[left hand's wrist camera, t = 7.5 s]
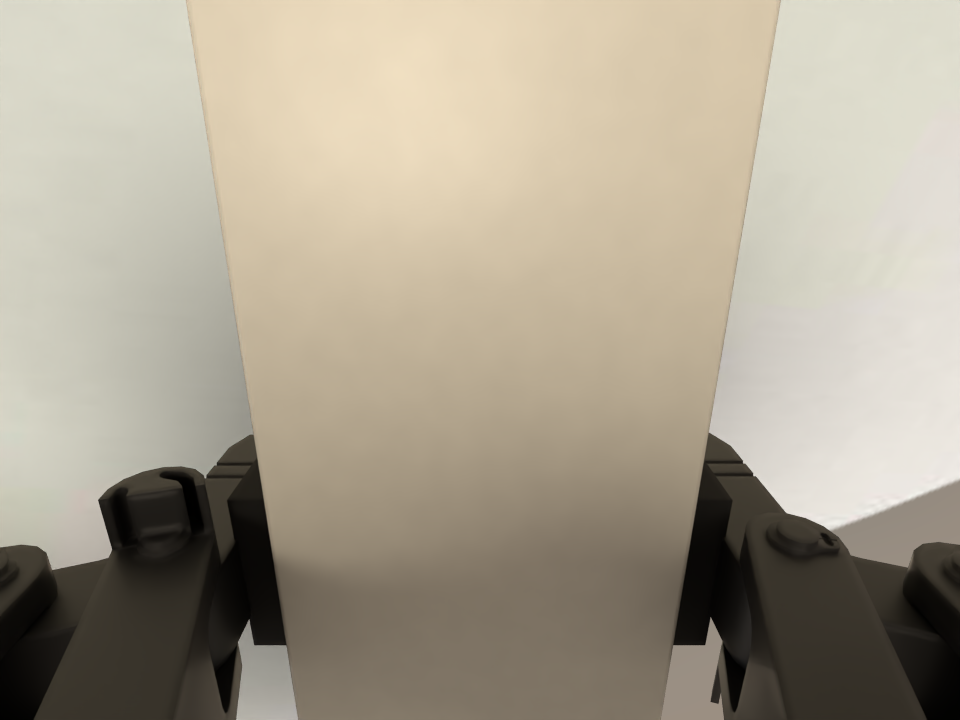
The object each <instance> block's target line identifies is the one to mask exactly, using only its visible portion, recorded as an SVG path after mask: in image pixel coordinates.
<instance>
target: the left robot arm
mask: <svg viewBox="0 0 960 720" xmlns="http://www.w3.org/2000/svg"><path fill="white" fill-rule="evenodd" d="M98 501H99V505H100V508H101V512H102V515H103V519H104V522H105V526H106V529H107V533H108V536H109V540H110V543H111V547H112V552H111V554H110V556H109V558H107V559H103V560H99V561H95V562H90V563H85V564H80V565H76V566H71V567H66V568H61V569H56V570H52V568H51V565H50V562H49V559H48V556H47V554H46V552H44V551H43V550H42V549H40V548H39V547H37V546H28V545H16V546H9V547H1V548H0V720H236V715H237V706H238V697H239V688H240V680H241V671H242V663H241V656H240V651H239V646H238V641H239V639H240V637H241V635H242V632H243V630H244V628H245V626H246V624H247V622H248V620H249V619H250V625H251V630H252V635H253V640H254V645H286V638H285V632H284V625H283V619H282V612H281V606H280V600H279V593H278V587H277V580H276V574H275V568H274V561H273V555H272V548H271V542H270V536H269V529H268V523H267V516H266V510H265V504H264V497H263V491H262V484H261V478H260V472H259V465H258V459H257V452H256V446H255V440H254V435H249V436H247V437H246V438H244V439H242V440H241V441H239V442H238V443H236V444H234V445H233V446H231V447H230V448H229V449H228V450H227V451H226V452H225V453H224V455H223V456H222V457H221V458H220V460H219V461H218V462H217V466H214V467H213V468H212V469H211V471H210V472H209V473H208V474H207V478H204V475H202V474H201V473H200V472H198V471H197V470H196V469H191V468H186V467H163V468H158V469H154V470H149V471H144V472H141V473H139V474H136V475H134V476H131V477H129V478H126V479H124V480H122V481H120V482H119V483H117V484H116V485H114V486H112V487H111V488H109V489H108V490H107V491H106V492H105V493H104V494H103V495H102V496H101V497H100V499H99V500H98ZM710 617H711V618H712V620H713V622H714V624H715V626H716V628H717V630H718V633H719V635H720V637H721V639H722V646H721V651H720V656H719V660H718V665H717V670H716V675H715V680H714V685H713V690H712V696H711V702H713V703H717V704H718V703H719V698H720V694H721V696H722V705H723V713H724V720H960V545H956V544H949V543H941V542H936V543H927V544H922V545H921V546H919V547H918V548H916V549H915V550H914V552H913V555H912V558H911V561H910V563H909V566H908V568H906V567H902V566H896V565H892V564H887V563H882V562H877V561H872V560H867V559H862V558H858V557H855V556H851V555H850V553H849V551H848V549H847V548H846V546H845V545H844V544H843V542H842V541H841V540H840V538H839V537H838V536H836V535H835V534H833V533H832V532H831V531H829V530H828V529H826V528H825V527H824V526H822V525H819V524H817V523H815V522H813V521H810V520H808V519H806V518H803V517H799V516H795V515H791V514H787V513H786V512H785V511H784V510H783V509H782V508H781V506H780V505H779V504H778V503H777V501H776V500H775V499H774V498H773V497H772V495H771V494H770V493H769V492H768V491H767V489H766V488H765V487H764V486H763V485H762V483H761V482H760V481H759V480H758V478H757V477H756V476H753V472H752V471H751V470H750V469H749V468H748V466H747V465H746V464H743V460H742V459H741V458H740V457H739V455H738V454H737V453H736V452H735V451H734V449H733V448H732V447H731V446H730V445H728V444H727V443H725V442H723V441H722V440H720V439H719V438H717V437H715V436H714V435H712V434H711V433H708V439H707V445H706V451H705V457H704V463H703V469H702V475H701V481H700V487H699V493H698V499H697V505H696V511H695V517H694V523H693V529H692V535H691V541H690V547H689V553H688V559H687V565H686V571H685V577H684V583H683V589H682V595H681V601H680V607H679V613H678V619H677V625H676V631H675V637H674V643H673V645H705V643H706V638H707V633H708V627H709V622H710Z"/></svg>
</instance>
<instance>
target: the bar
mask: <svg viewBox="0 0 960 720" xmlns="http://www.w3.org/2000/svg"><path fill="white" fill-rule="evenodd" d="M780 2H781V0H186V4H187V10H188V17H189V23H190V30H191V36H192V42H193V49H194V55H195V62H196V68H197V74H198V81H199V87H200V94H201V100H202V106H203V113H204V119H205V126H206V132H207V138H208V145H209V151H210V158H211V164H212V170H213V177H214V183H215V190H216V196H217V203H218V209H219V215H220V222H221V228H222V235H223V241H224V247H225V254H226V260H227V267H228V273H229V279H230V286H231V292H232V299H233V305H234V311H235V318H236V324H237V331H238V337H239V343H240V350H241V356H242V363H243V369H244V375H245V382H246V388H247V395H248V401H249V408H250V414H251V420H252V427H253V433H254V440H255V446H256V452H257V459H258V465H259V472H260V478H261V484H262V491H263V497H264V504H265V510H266V516H267V523H268V529H269V536H270V542H271V548H272V555H273V561H274V568H275V574H276V580H277V587H278V593H279V600H280V606H281V612H282V619H283V625H284V632H285V638H286V645H287V651H288V657H289V664H290V670H291V677H292V683H293V689H294V696H295V702H296V709H297V715H298V720H661V714H662V708H663V702H664V696H665V690H666V684H667V678H668V672H669V666H670V660H671V655H672V648H673V643H674V637H675V631H676V625H677V619H678V613H679V607H680V601H681V595H682V589H683V583H684V577H685V571H686V565H687V559H688V553H689V547H690V541H691V535H692V529H693V523H694V517H695V511H696V505H697V499H698V493H699V487H700V481H701V475H702V469H703V463H704V457H705V451H706V445H707V439H708V433H709V427H710V421H711V415H712V409H713V403H714V397H715V391H716V385H717V379H718V373H719V367H720V361H721V355H722V349H723V343H724V337H725V331H726V325H727V319H728V313H729V307H730V301H731V295H732V289H733V283H734V277H735V271H736V265H737V259H738V253H739V247H740V241H741V235H742V229H743V223H744V217H745V212H746V206H747V200H748V194H749V188H750V182H751V176H752V170H753V164H754V158H755V152H756V146H757V140H758V134H759V128H760V122H761V116H762V110H763V104H764V98H765V92H766V86H767V80H768V74H769V68H770V62H771V56H772V50H773V44H774V38H775V32H776V26H777V20H778V14H779V8H780Z"/></svg>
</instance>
